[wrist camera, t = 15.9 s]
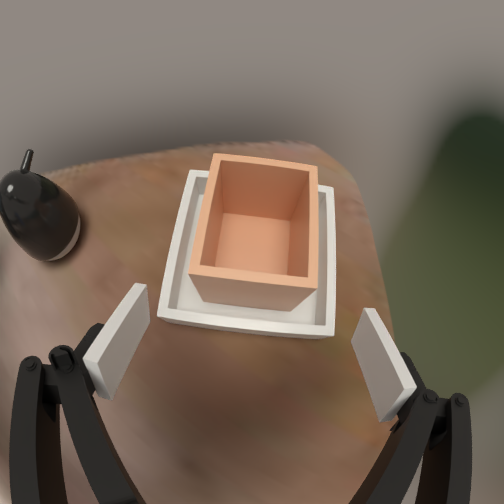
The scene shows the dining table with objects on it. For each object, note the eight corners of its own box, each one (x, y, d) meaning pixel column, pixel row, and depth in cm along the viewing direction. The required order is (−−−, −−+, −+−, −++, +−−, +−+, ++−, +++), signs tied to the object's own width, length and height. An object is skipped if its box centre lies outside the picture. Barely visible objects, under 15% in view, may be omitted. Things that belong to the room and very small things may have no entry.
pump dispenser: (100, 211, 36) (52, 142, 21) (74, 277, 32) (4, 229, 18) (55, 202, 36) (6, 143, 22) (30, 260, 32) (-33, 215, 18)
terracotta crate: (203, 301, 31) (187, 273, 21) (218, 209, 35) (214, 153, 25) (290, 311, 31) (317, 288, 21) (295, 219, 36) (317, 166, 25)
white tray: (168, 322, 31) (156, 316, 26) (194, 191, 37) (190, 169, 33) (319, 339, 31) (334, 335, 26) (322, 207, 38) (333, 187, 33)
